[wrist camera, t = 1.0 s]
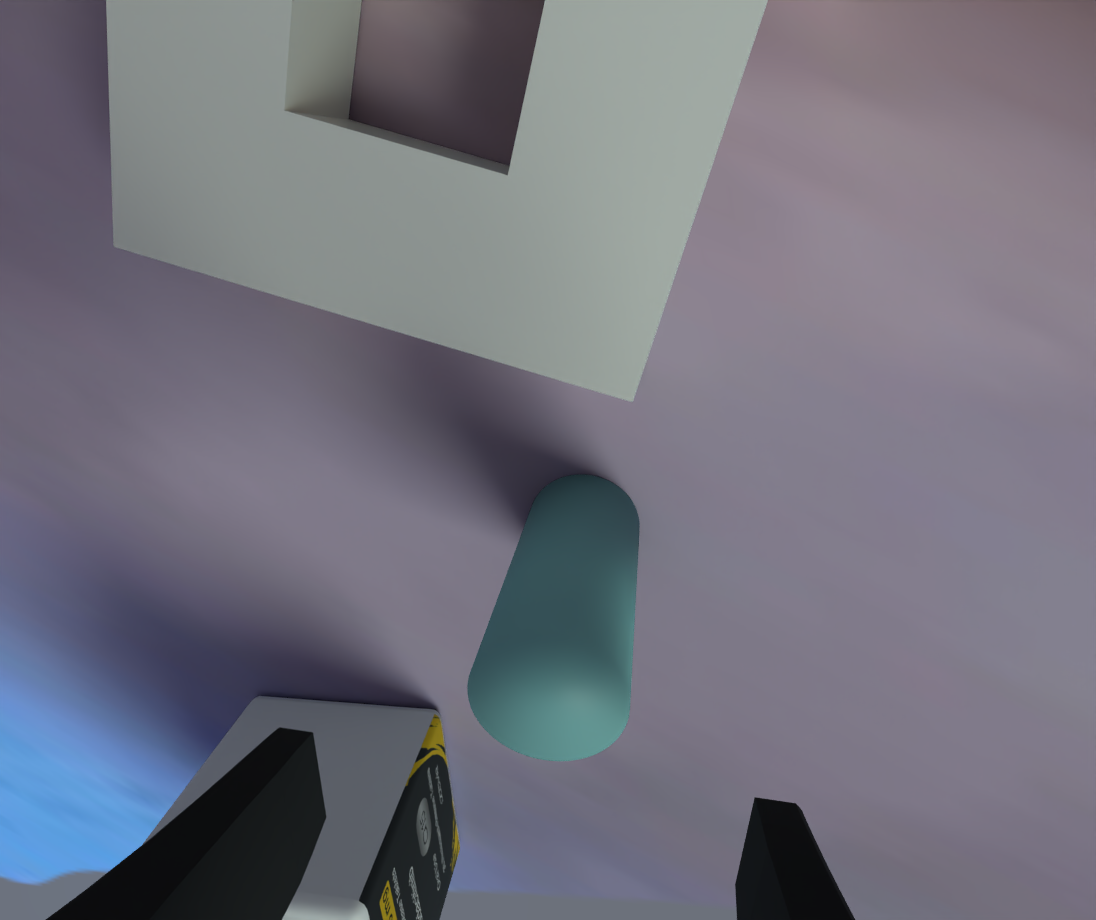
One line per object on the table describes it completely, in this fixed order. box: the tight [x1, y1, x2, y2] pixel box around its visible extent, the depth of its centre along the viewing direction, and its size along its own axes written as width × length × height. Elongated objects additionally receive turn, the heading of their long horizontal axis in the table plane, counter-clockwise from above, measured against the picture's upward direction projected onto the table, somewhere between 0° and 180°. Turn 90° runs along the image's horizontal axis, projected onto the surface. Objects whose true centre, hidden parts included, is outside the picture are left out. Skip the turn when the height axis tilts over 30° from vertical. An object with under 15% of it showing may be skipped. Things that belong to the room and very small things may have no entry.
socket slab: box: [106, 0, 768, 402], centre depth 13 cm, size 12×12×3 cm
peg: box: [468, 475, 639, 761], centre depth 16 cm, size 3×3×7 cm
